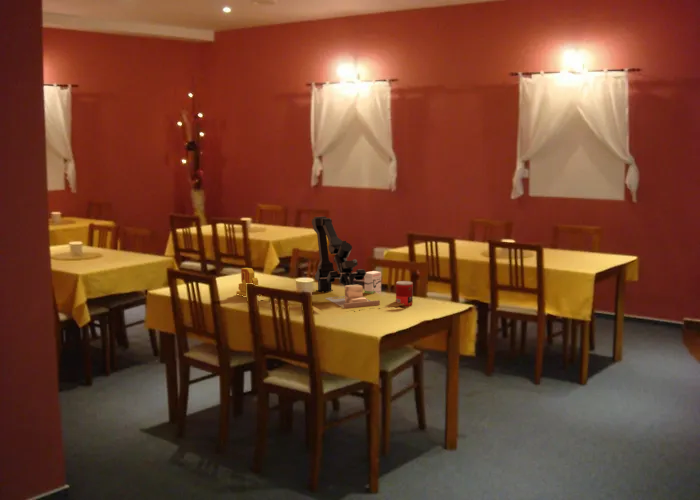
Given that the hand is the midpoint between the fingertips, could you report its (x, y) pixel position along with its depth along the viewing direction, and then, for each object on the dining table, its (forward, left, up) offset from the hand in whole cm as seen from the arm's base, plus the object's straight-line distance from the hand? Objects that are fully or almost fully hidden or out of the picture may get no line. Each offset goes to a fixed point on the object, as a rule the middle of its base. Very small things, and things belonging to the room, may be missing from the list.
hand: (351, 289), depth 363 cm
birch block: (+5, -3, -6) cm, 8 cm away
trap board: (-3, +2, -7) cm, 8 cm away
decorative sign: (-51, -17, -7) cm, 54 cm away
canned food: (+21, +14, -7) cm, 26 cm away
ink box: (-5, +25, -7) cm, 26 cm away
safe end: (+7, -4, -7) cm, 11 cm away
